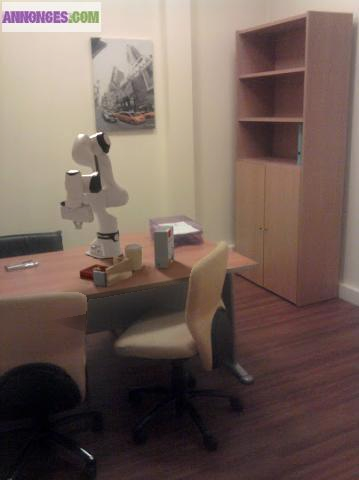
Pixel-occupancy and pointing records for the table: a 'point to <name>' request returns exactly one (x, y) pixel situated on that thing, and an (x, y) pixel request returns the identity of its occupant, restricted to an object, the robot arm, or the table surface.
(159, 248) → the hard drive box
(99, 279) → the bookend
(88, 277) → the hardcover book
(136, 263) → the coffee cup
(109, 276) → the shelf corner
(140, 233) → the table surface
